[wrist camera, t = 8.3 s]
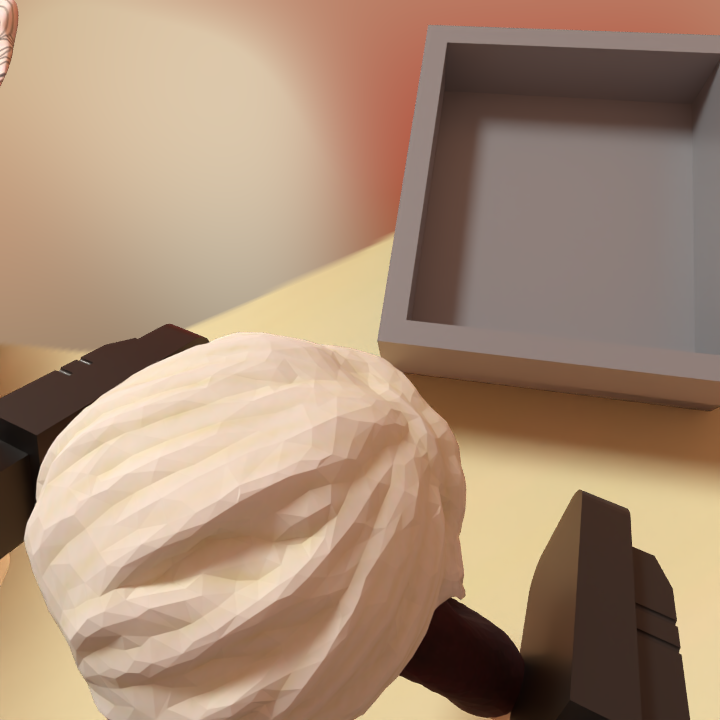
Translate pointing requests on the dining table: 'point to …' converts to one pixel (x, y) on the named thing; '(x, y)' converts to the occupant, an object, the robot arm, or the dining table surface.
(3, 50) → the cookie jar
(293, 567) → the grandmother figurine
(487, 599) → the dining table surface
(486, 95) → the tray
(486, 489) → the dining table surface
